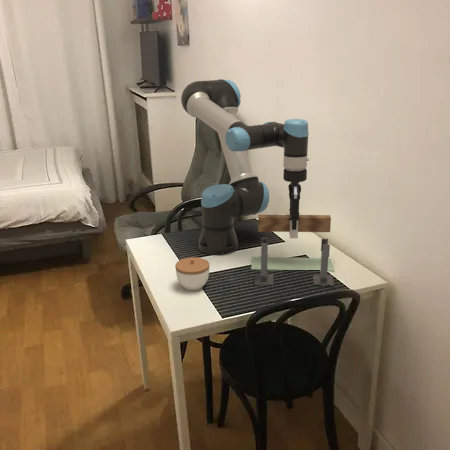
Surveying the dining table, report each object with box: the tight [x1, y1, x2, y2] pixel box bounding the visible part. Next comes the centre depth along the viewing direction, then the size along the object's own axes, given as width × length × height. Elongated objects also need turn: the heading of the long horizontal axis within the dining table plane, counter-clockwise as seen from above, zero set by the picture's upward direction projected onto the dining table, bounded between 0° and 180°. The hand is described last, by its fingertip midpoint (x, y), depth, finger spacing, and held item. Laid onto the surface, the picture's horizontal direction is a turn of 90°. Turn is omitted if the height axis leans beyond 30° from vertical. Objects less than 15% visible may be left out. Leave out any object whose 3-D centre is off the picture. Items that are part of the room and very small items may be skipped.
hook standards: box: [254, 237, 335, 287], centre depth 158 cm, size 25×6×14 cm, turn 85°
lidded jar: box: [174, 256, 210, 292], centre depth 156 cm, size 11×11×9 cm
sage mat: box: [250, 256, 335, 272], centre depth 172 cm, size 28×10×1 cm, turn 85°
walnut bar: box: [257, 214, 332, 233], centre depth 167 cm, size 24×3×5 cm, turn 85°
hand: (293, 235), depth 168 cm, fingers closed on walnut bar, 3 cm apart
